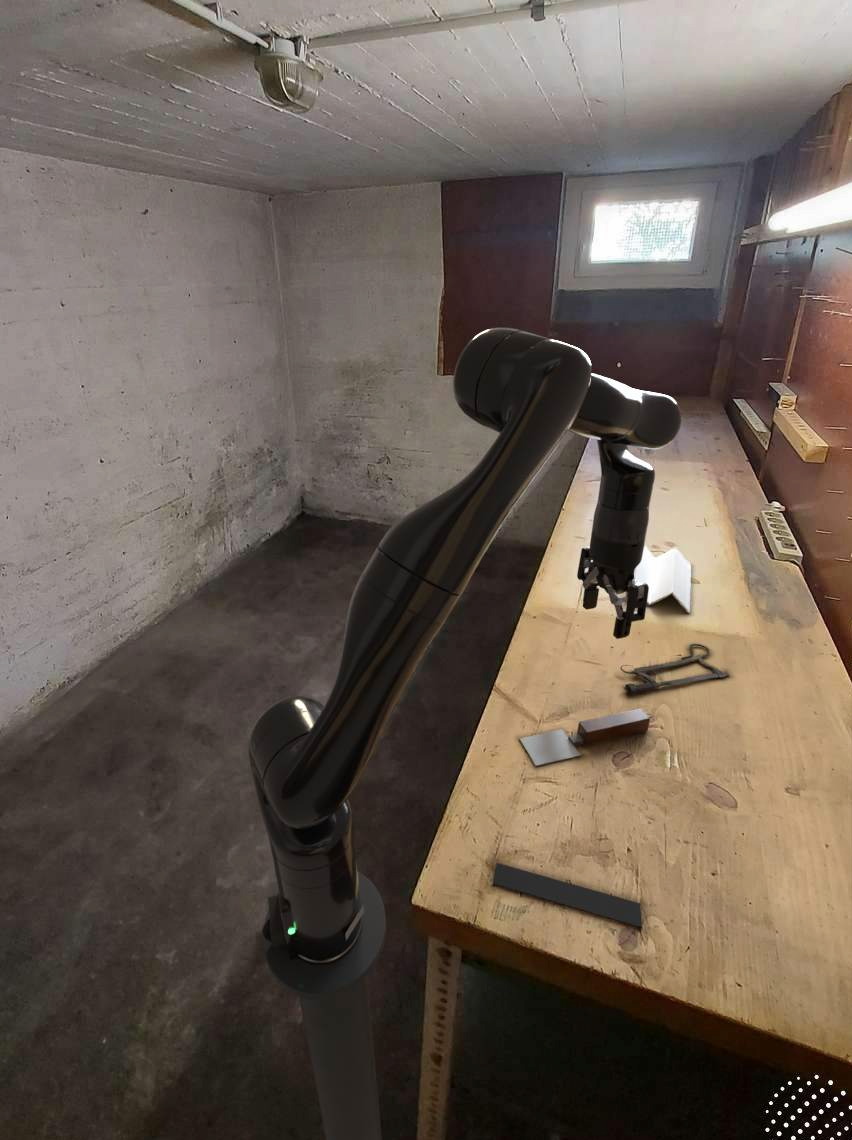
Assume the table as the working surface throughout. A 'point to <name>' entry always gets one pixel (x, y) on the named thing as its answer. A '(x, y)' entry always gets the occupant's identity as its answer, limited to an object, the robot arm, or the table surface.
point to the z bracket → (665, 576)
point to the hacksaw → (653, 684)
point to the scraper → (584, 736)
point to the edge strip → (568, 894)
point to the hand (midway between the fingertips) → (604, 621)
